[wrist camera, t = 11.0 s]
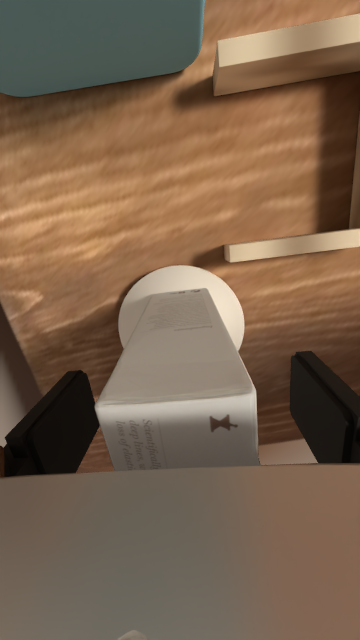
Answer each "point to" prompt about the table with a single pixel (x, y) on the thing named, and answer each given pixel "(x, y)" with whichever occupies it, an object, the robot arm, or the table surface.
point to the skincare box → (179, 391)
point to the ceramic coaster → (178, 281)
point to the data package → (94, 42)
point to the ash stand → (282, 68)
